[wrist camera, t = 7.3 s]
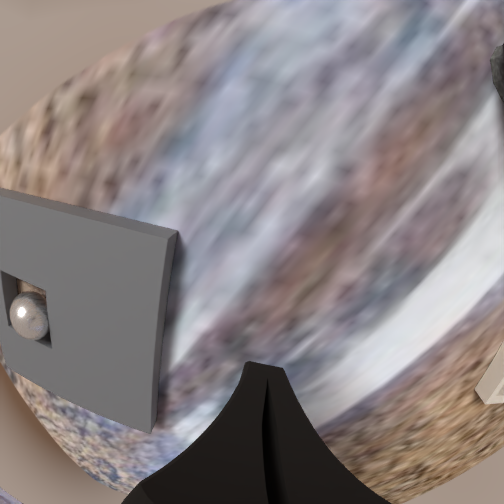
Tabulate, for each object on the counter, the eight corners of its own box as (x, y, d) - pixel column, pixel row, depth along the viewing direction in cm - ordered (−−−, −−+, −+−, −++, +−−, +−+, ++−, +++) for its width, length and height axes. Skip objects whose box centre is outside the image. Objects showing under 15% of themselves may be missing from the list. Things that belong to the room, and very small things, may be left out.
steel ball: (21, 355, 17) (4, 322, 19) (59, 342, 21) (39, 312, 22) (20, 318, 16) (3, 285, 17) (63, 307, 20) (42, 277, 21)
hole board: (156, 418, 24) (150, 434, 22) (16, 356, 24) (6, 366, 22) (177, 230, 19) (167, 238, 17) (-1, 187, 18) (-17, 191, 16)
